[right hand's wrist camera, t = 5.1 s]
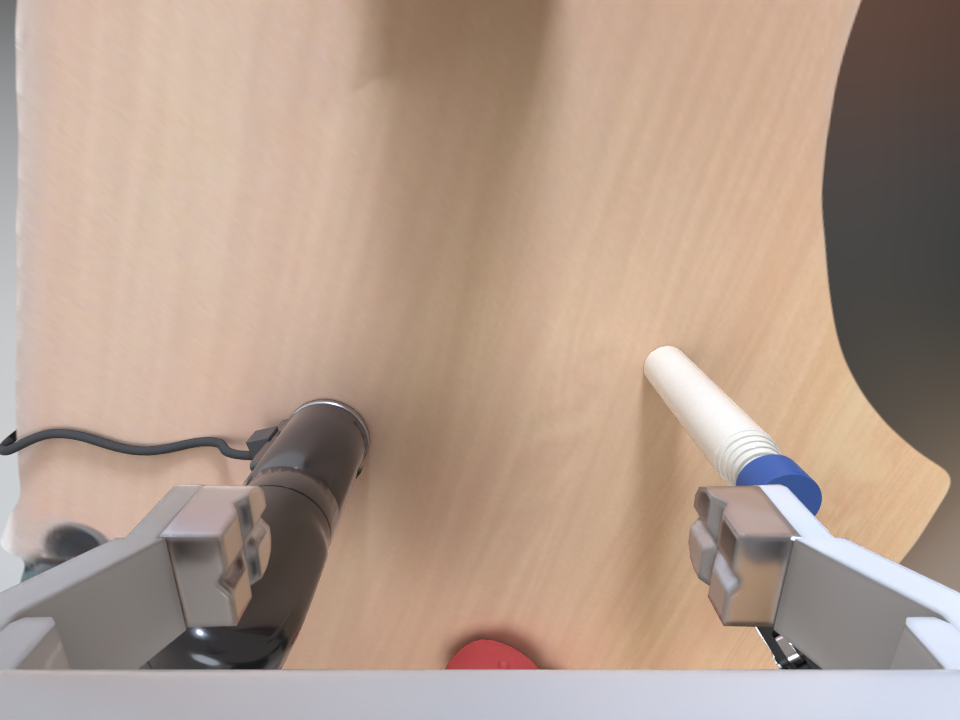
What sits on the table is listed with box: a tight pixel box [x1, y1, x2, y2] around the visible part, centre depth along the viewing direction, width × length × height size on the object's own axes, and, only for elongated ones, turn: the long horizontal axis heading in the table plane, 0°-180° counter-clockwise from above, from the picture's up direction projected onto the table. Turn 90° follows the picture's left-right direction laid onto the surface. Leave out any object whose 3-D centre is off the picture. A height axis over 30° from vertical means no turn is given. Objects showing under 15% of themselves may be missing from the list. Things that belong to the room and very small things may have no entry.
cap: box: [736, 454, 822, 516], centre depth 38 cm, size 4×4×3 cm
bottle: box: [644, 346, 782, 486], centre depth 49 cm, size 5×5×25 cm
